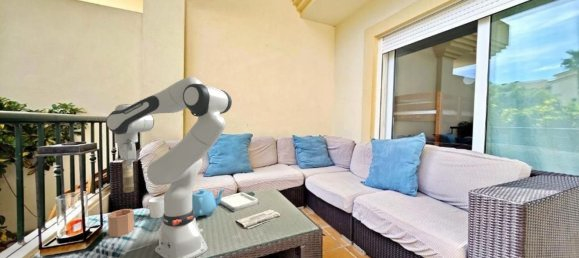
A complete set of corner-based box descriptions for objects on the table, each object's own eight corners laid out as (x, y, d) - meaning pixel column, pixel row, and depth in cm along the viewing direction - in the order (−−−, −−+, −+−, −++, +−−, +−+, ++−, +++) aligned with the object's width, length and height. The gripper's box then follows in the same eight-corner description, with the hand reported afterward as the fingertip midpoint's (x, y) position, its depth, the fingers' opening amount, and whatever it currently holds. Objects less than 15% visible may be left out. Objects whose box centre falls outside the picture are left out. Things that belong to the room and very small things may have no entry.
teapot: (179, 215, 126) (178, 191, 125) (209, 204, 141) (209, 182, 140) (195, 224, 116) (194, 197, 115) (226, 211, 132) (226, 187, 131)
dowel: (134, 191, 108) (133, 160, 108) (124, 193, 106) (123, 161, 105) (132, 189, 111) (131, 159, 110) (123, 191, 108) (121, 160, 108)
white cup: (168, 214, 127) (168, 197, 127) (159, 220, 119) (158, 202, 119) (155, 213, 128) (155, 196, 127) (145, 220, 120) (145, 201, 120)
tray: (259, 203, 143) (259, 199, 143) (234, 211, 131) (234, 207, 131) (242, 195, 158) (242, 192, 158) (218, 202, 145) (218, 198, 145)
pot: (135, 233, 106) (134, 213, 106) (110, 241, 100) (109, 219, 99) (131, 226, 113) (130, 207, 112) (108, 233, 106) (107, 212, 106)
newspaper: (246, 231, 110) (246, 226, 110) (235, 224, 119) (235, 220, 119) (283, 218, 124) (283, 213, 124) (271, 212, 134) (270, 208, 134)
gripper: (139, 139, 102) (140, 169, 103) (130, 136, 116) (131, 163, 117) (122, 140, 97) (123, 172, 98) (115, 137, 112) (116, 165, 113)
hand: (127, 167), depth 108 cm, fingers closed on dowel, 4 cm apart
